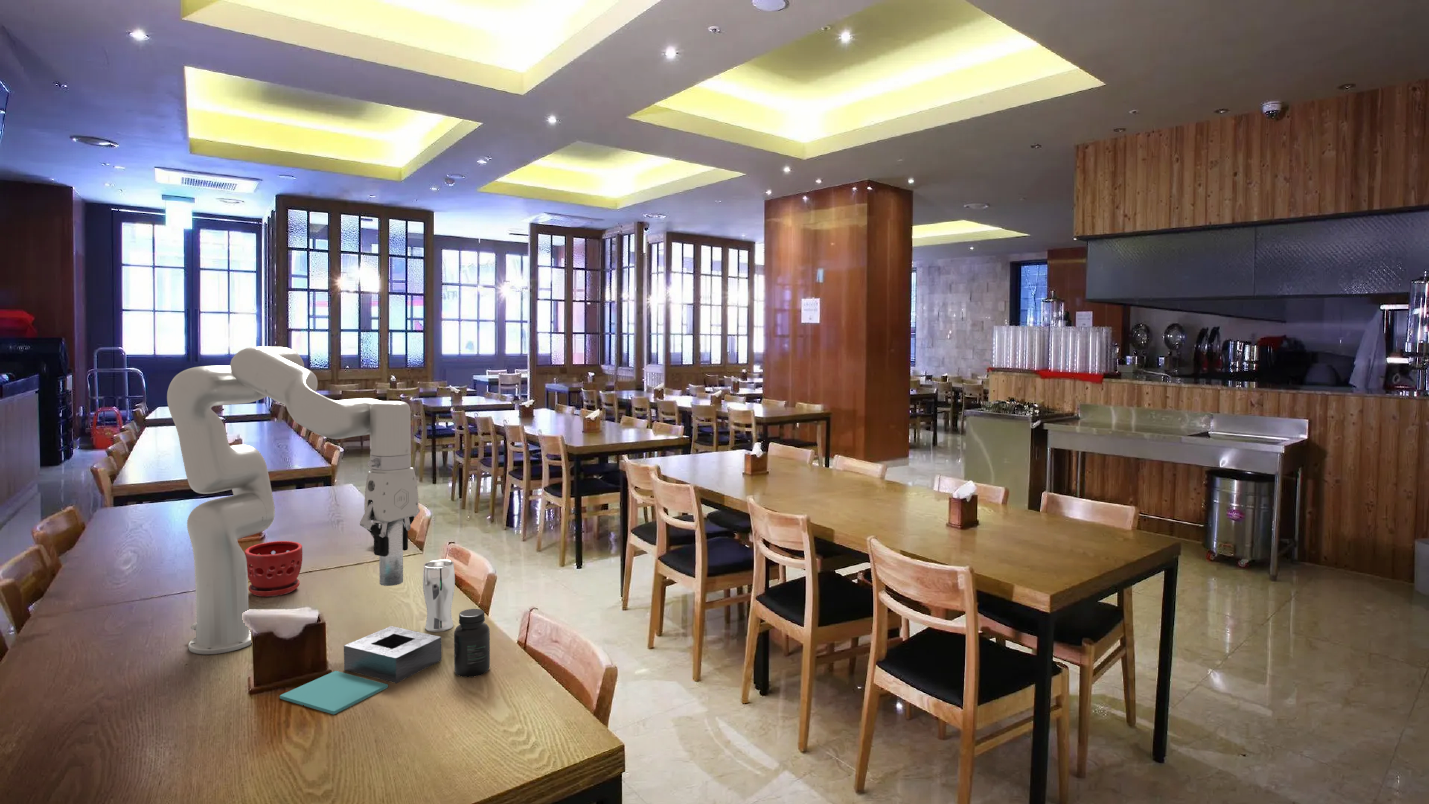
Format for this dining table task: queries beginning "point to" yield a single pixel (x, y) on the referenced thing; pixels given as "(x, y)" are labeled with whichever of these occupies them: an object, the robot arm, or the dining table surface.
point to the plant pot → (274, 567)
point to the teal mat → (334, 692)
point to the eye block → (392, 654)
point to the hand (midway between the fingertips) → (391, 551)
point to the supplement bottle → (471, 644)
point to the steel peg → (392, 555)
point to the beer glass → (438, 594)
